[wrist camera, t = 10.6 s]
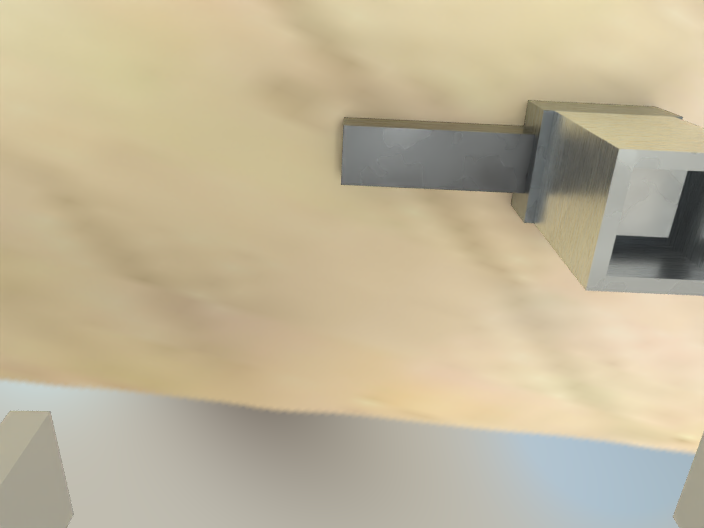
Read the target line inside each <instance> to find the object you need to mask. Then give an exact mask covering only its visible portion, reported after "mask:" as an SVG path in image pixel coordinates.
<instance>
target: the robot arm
mask: <svg viewBox="0 0 704 528" xmlns="http://www.w3.org/2000/svg"><path fill="white" fill-rule="evenodd" d="M73 515H74V513H73V509H72V504H71V500H70V495H69V491H68V487H67V482H66V478H65V474H64V469H63V465H62V460H61V456H60V452H59V447H58V443H57V438H56V434H55V430H54V425H53V421H52V416H51V412H50V411H10V412H9V413H8V415H7V416H6V417H5V418H4V420H3V421H2V422H1V424H0V528H67V527H68V525H69V522H70V520H71V519H72V516H73ZM673 518H674V520H675V521H676V523H677V524H678V526H679V527H680V528H704V433H703V435H702V438H701V441H700V444H699V446H698V449H697V452H696V455H695V457H694V460H693V463H692V466H691V469H690V471H689V474H688V477H687V479H686V482H685V485H684V488H683V490H682V493H681V496H680V499H679V501H678V504H677V507H676V510H675V512H674V515H673Z"/></svg>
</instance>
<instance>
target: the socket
mask: <svg viewBox="0 0 704 528" xmlns="http://www.w3.org/2000/svg"><path fill="white" fill-rule="evenodd" d="M633 168H647V169H667V170H688V171H687V175H686V178H685V182H684V185H683V189H682V192H681V196H680V199H679V202H678V206H677V209H676V213H675V216H674V220H673V223H672V227H671V230H670V233H669V237H668V238H667V237H646V236H625V235H616V234H617V230H618V226H619V222H620V218H621V214H622V210H623V206H624V202H625V198H626V194H627V190H628V186H629V182H630V178H631V174H632V170H633ZM534 224H535V225H536V227H537V228H538V229H539V230H540V232H541V233H542V234H543V236H544V237H545V238H546V240H547V241H548V242H549V243H550V245H551V246H552V247H553V249H554V250H555V251H556V252H557V254H558V255H559V256H560V258H561V259H562V260H563V262H564V263H565V264H566V265H567V267H568V268H569V269H570V271H571V272H572V273H573V275H574V276H575V277H576V278H577V280H578V281H579V282H580V284H581V285H582V286H583V288H584V289H585V290H588V291H610V292H632V293H654V294H676V295H698V296H704V128H702V127H699V126H697V125H694V124H692V123H689V122H686V121H684V120H681V119H679V118H676V117H672V116H652V115H631V114H611V113H591V112H570V111H555V112H554V118H553V123H552V128H551V134H550V139H549V144H548V150H547V155H546V161H545V166H544V171H543V177H542V182H541V187H540V193H539V198H538V204H537V209H536V214H535V220H534Z"/></svg>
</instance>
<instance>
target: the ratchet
mask: <svg viewBox="0 0 704 528" xmlns="http://www.w3.org/2000/svg"><path fill="white" fill-rule="evenodd" d="M555 111H570V112H591V113H611V114H631V115H652V116H672V117H676V118H679V119H681V120H682V118H683V117H682V116H679V115H676V114H674V113H671V112H668V111H666V110H663V109H660V108H658V107H654V106H633V105H613V104H593V103H573V102H552V101H532V100H528V105H527V111H526V117H525V123H524V126H512V125H492V124H471V123H451V122H430V121H410V120H389V119H369V118H348V117H344V126H343V151H342V176H341V185H360V186H381V187H402V188H423V189H444V190H465V191H486V192H507V193H513V195H512V201H511V206H512V207H513V208H514V210H515V211H516V212H517V214H518V215H519V216H520V218H521V219H522V221H523V222H524V223H534V220H535V214H536V209H537V204H538V198H539V193H540V187H541V182H542V177H543V171H544V166H545V161H546V155H547V150H548V144H549V139H550V134H551V128H552V123H553V118H554V112H555ZM687 171H688V170H667V169H647V168H633V170H632V174H631V178H630V182H629V186H628V190H627V194H626V198H625V202H624V206H623V210H622V214H621V218H620V222H619V226H618V230H617V234H616V235H625V236H646V237H667V238H668V237H669V233H670V230H671V227H672V223H673V220H674V216H675V213H676V209H677V206H678V202H679V199H680V196H681V192H682V189H683V185H684V182H685V178H686V175H687Z"/></svg>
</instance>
